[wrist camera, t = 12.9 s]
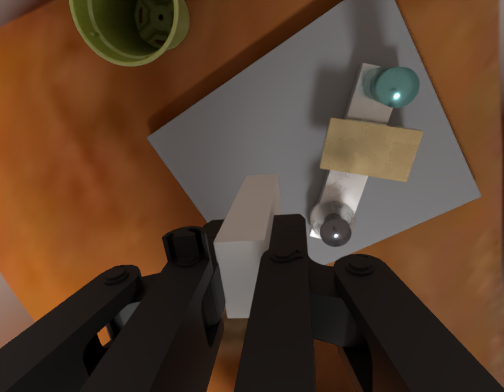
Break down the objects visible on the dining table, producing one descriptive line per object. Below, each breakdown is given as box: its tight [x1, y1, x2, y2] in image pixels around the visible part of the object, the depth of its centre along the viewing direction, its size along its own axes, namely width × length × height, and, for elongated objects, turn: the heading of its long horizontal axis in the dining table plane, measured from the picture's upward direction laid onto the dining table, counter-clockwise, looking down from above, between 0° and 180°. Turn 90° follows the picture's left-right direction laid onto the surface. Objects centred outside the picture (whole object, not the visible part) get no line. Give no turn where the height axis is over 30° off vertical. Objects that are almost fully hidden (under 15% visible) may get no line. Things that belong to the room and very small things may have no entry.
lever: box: [309, 63, 420, 247], centre depth 31 cm, size 19×5×8 cm, turn 169°
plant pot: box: [69, 0, 190, 66], centre depth 30 cm, size 9×9×9 cm
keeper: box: [319, 116, 423, 182], centre depth 33 cm, size 5×8×4 cm, turn 83°
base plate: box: [147, 0, 481, 265], centre depth 37 cm, size 25×29×2 cm
